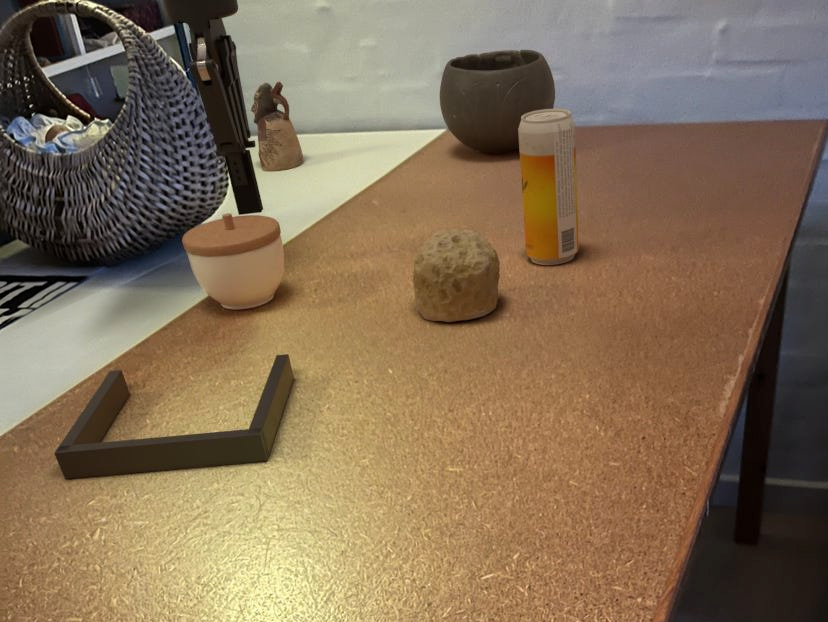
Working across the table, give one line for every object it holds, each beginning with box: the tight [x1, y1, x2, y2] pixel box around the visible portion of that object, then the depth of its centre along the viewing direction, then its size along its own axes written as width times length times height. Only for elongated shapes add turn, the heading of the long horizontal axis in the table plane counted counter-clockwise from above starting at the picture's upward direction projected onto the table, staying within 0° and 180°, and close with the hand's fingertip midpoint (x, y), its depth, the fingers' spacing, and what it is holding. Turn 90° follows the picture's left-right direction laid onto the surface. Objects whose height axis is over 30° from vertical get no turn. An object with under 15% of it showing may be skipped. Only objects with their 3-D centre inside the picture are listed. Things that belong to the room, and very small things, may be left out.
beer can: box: [518, 108, 580, 266], centre depth 109 cm, size 6×6×15 cm
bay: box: [53, 353, 295, 480], centre depth 88 cm, size 16×17×2 cm
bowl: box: [439, 49, 556, 154], centre depth 151 cm, size 18×18×13 cm
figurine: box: [250, 81, 304, 172], centre depth 157 cm, size 7×7×12 cm
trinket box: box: [181, 212, 285, 311], centre depth 109 cm, size 11×11×9 cm
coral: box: [412, 228, 501, 323], centre depth 102 cm, size 9×9×8 cm
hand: (251, 211), depth 116 cm, fingers closed
